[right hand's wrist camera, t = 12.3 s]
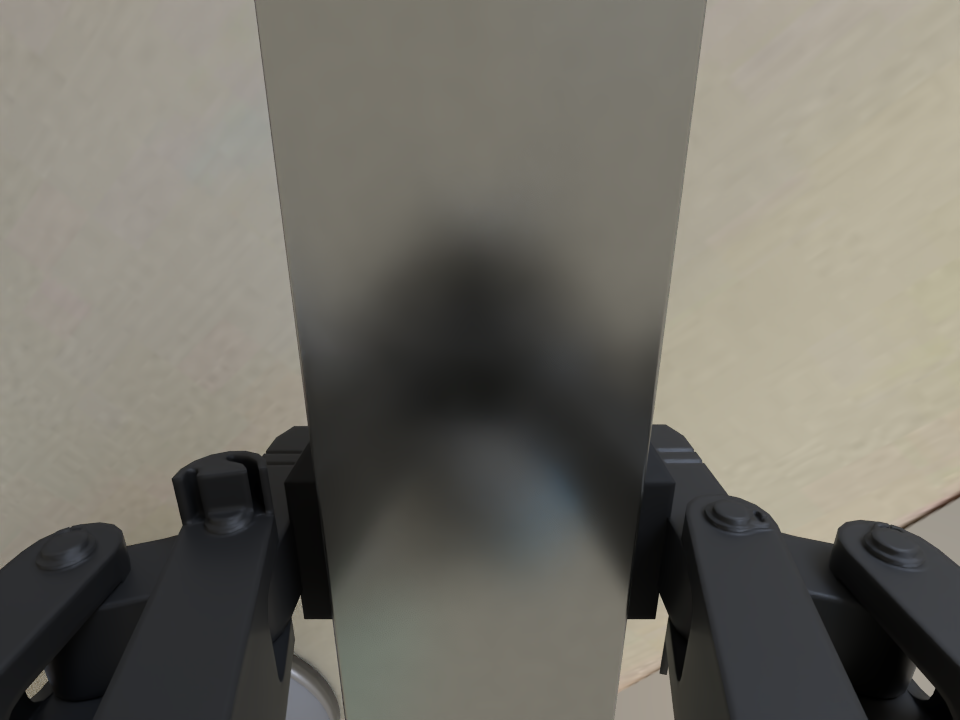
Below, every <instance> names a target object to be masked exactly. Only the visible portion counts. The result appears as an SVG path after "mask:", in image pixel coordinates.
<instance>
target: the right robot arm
mask: <svg viewBox="0 0 960 720" xmlns="http://www.w3.org/2000/svg"><path fill="white" fill-rule="evenodd" d="M172 482H173V486H174V490H175V495H176V499H177V503H178V507H179V512H180V516H181V520H182V524H183V526H182V528H181V530H180V532H179V534H178V535H177V536H173V537H169V538H165V539H160V540H155V541H150V542H145V543H140V544H135V545H130V546H126V543H125V540H124V536H123V533H122V530H120V529H119V528H118V527H116V526H115V525H113V524H107V523H100V522H99V523H90V524H80V525H76V526H72V527H71V528H69V527H68V528H65V529H62V530H59V531H57V532H55V533H54V534H51V535H49V536H47V537H45V538H43V539H40V540H39V541H37V542H36V543H34V544H33V545H31V546H30V547H28V548H27V549H25V550H24V551H22V552H21V553H20V554H19V555H17V556H16V557H15V558H14V559H13V560H11V561H10V562H9V563H8V564H7V565H5V566H4V567H3V568H2V569H1V570H0V720H340V711H339V706H338V702H337V699H336V697H335V695H334V693H333V691H332V689H331V687H330V686H329V685H328V683H327V682H326V681H325V679H324V678H323V677H322V676H321V675H320V674H319V673H318V672H317V671H316V670H315V669H314V668H312V667H311V666H310V665H309V664H307V663H306V662H304V661H303V660H301V659H300V658H298V657H297V656H295V655H293V652H294V643H295V637H294V630H293V624H292V614H293V612H294V609H295V607H296V605H297V602H298V600H299V597H300V595H301V600H302V606H303V613H304V619H332V611H331V604H330V596H329V588H328V580H327V572H326V564H325V556H324V548H323V540H322V532H321V524H320V516H319V508H318V501H317V493H316V485H315V477H314V469H313V461H312V453H311V445H310V437H309V429H308V426H294V427H292V428H291V429H289V430H287V431H286V432H284V433H283V434H281V435H280V436H278V437H276V439H275V440H274V441H273V443H272V444H271V445H270V447H269V448H268V449H267V451H266V454H264V455H263V456H261V455H259V454H257V453H252V452H248V451H228V452H223V453H218V454H212V455H209V456H207V457H204V458H201V459H198V460H196V461H194V462H192V463H190V464H188V465H187V466H185V467H183V468H182V469H180V470H179V471H178V472H177V474H176V475H175V476H174V477H173V478H172ZM659 593H660V596H661V598H662V600H663V603H664V605H665V608H666V610H667V612H668V615H669V617H668V624H667V630H666V636H665V642H664V648H663V654H662V661H661V667H660V674H665V675H667V670H668V668H669V676H670V685H671V693H672V702H673V711H674V719H675V720H960V566H958V565H957V564H956V563H955V562H953V561H952V560H951V559H950V558H949V557H947V556H946V555H945V554H944V553H943V552H941V551H940V550H939V549H937V548H936V547H934V546H933V545H932V544H930V543H929V542H927V541H926V540H924V539H922V538H921V537H919V536H917V535H915V534H912V533H910V532H908V531H906V530H904V529H903V528H900V527H897V526H894V525H889V524H887V523H882V522H875V521H865V520H857V521H851V522H846V523H844V524H843V525H842V526H841V527H839V528H838V531H837V535H836V538H835V542H834V544H831V543H826V542H821V541H816V540H811V539H806V538H801V537H796V536H792V535H788V534H784V533H781V531H780V529H779V527H778V525H777V524H776V522H775V521H774V520H773V518H772V517H771V516H770V515H769V514H768V513H767V512H765V511H764V510H762V509H761V508H760V507H758V506H757V505H755V504H753V503H750V502H748V501H745V500H743V499H741V498H737V497H733V496H728V494H727V493H726V492H725V490H724V489H723V488H722V486H721V485H720V484H719V482H718V481H717V480H716V478H715V477H714V476H713V474H712V473H711V472H710V470H709V469H708V468H707V466H706V465H705V464H704V463H702V460H701V458H700V457H699V456H698V454H697V453H696V452H694V449H693V448H692V446H691V445H690V444H689V442H688V441H687V440H686V438H685V437H684V436H683V435H681V434H680V433H678V432H677V431H675V430H674V429H672V428H670V427H669V426H667V425H652V429H651V437H650V445H649V452H648V460H647V468H646V476H645V483H644V491H643V499H642V507H641V514H640V522H639V530H638V538H637V545H636V553H635V561H634V569H633V576H632V584H631V592H630V600H629V607H628V615H627V619H655V617H656V611H657V604H658V597H659ZM916 666H917V668H918V669H919V670H920V671H921V672H922V673H923V674H924V675H925V677H926V678H927V679H928V680H929V681H930V682H931V683H932V685H933V686H934V687H935V691H934V693H933V695H932V696H931V697H929V696H928V695H927V694H926V693H925V692H924V691H923V690H922V689H921V688H920V687H919V686H918V685H917V684H916V683H915V681H914V680H913V679H912V676H913V674H914V671H915V669H916ZM43 670H45V673H46V675H47V678H48V680H49V681H48V682H47V683H46V684H45V685H44V686H43V688H42V689H41V690H40V691H39V692H38V693H37V694H36V695H34V696H33V697H32V698H31V699H29V698H28V697H27V694H26V692H25V690H26V689H27V688H28V687H29V686H30V685H31V684H32V682H33V681H34V680H35V679H36V678H37V677H38V676H39V674H40V673H41V672H42V671H43Z"/></svg>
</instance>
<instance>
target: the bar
mask: <svg viewBox="0 0 960 720" xmlns="http://www.w3.org/2000/svg"><path fill="white" fill-rule="evenodd" d="M254 1H255V9H256V17H257V25H258V33H259V41H260V49H261V57H262V65H263V73H264V81H265V88H266V96H267V104H268V112H269V120H270V128H271V136H272V144H273V152H274V160H275V168H276V176H277V184H278V191H279V199H280V207H281V215H282V223H283V231H284V239H285V247H286V255H287V263H288V271H289V279H290V287H291V294H292V302H293V310H294V318H295V326H296V334H297V342H298V350H299V358H300V366H301V374H302V382H303V390H304V398H305V405H306V413H307V421H308V429H309V437H310V445H311V453H312V461H313V469H314V477H315V485H316V493H317V501H318V508H319V516H320V524H321V532H322V540H323V548H324V556H325V564H326V572H327V580H328V588H329V596H330V604H331V611H332V619H333V627H334V635H335V643H336V651H337V659H338V667H339V675H340V683H341V691H342V699H343V707H344V714H345V720H614V716H615V708H616V700H617V693H618V685H619V677H620V670H621V662H622V654H623V646H624V638H625V631H626V623H627V615H628V607H629V600H630V592H631V584H632V576H633V569H634V561H635V553H636V545H637V538H638V530H639V522H640V514H641V507H642V499H643V491H644V483H645V476H646V468H647V460H648V452H649V445H650V437H651V429H652V421H653V414H654V406H655V398H656V390H657V383H658V375H659V367H660V359H661V352H662V344H663V336H664V328H665V321H666V313H667V305H668V297H669V290H670V282H671V274H672V266H673V259H674V251H675V243H676V235H677V228H678V220H679V212H680V204H681V197H682V189H683V181H684V173H685V166H686V158H687V150H688V142H689V135H690V127H691V119H692V111H693V104H694V96H695V88H696V80H697V73H698V65H699V57H700V49H701V42H702V34H703V26H704V18H705V11H706V3H707V0H254Z"/></svg>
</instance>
